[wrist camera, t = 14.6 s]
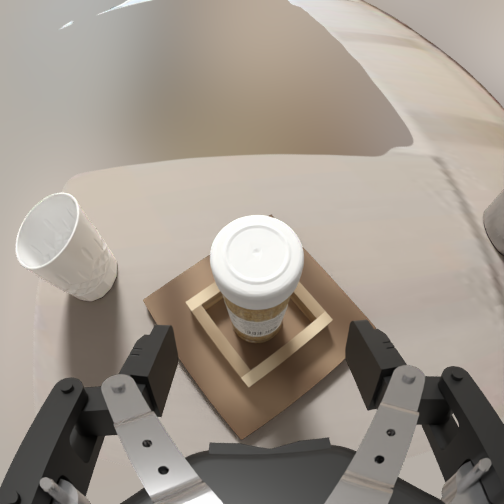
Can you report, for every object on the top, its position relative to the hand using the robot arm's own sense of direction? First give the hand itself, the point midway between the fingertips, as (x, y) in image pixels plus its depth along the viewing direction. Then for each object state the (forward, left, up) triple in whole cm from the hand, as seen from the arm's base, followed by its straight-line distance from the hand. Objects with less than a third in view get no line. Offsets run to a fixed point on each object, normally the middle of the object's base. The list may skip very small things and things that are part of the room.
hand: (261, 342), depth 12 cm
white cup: (+9, -18, -14) cm, 25 cm away
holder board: (-3, -3, -14) cm, 14 cm away
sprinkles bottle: (-2, -3, -13) cm, 13 cm away
